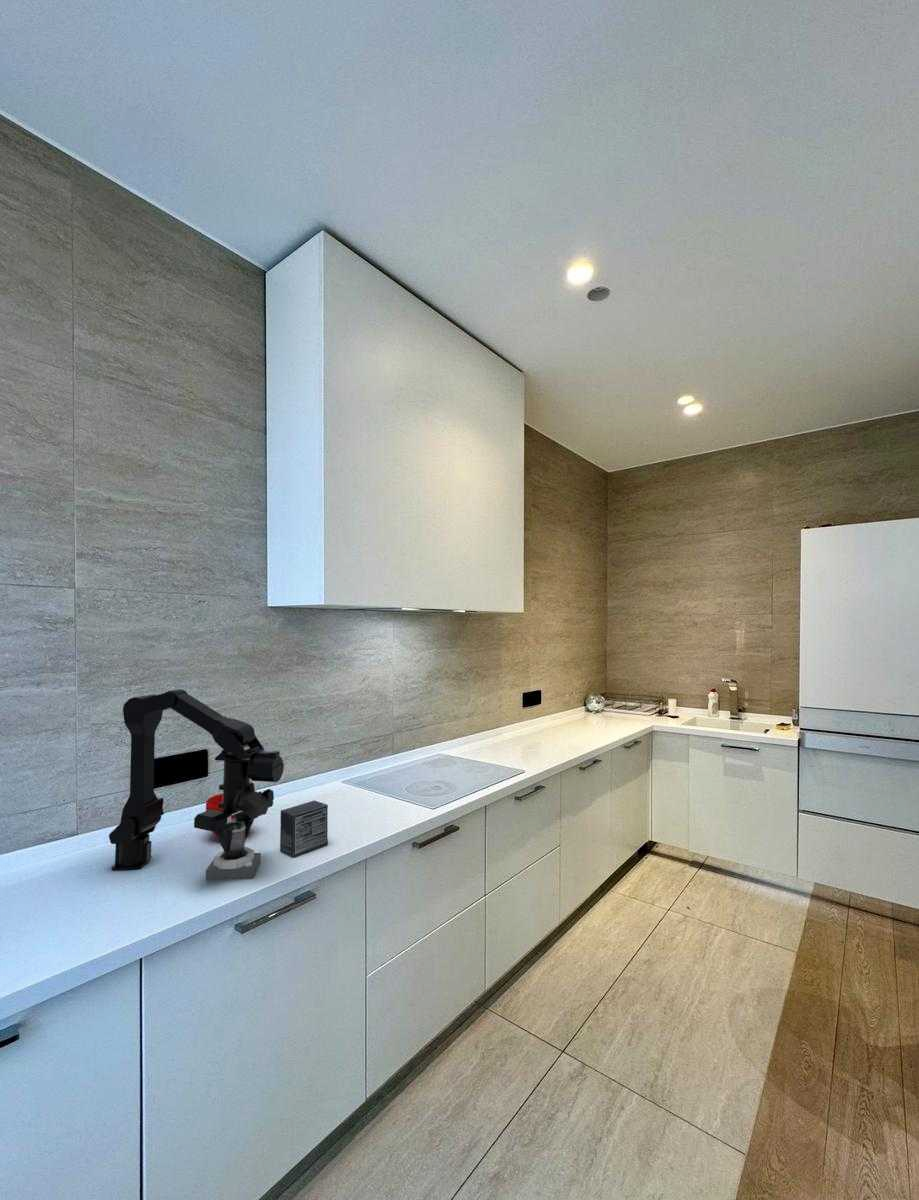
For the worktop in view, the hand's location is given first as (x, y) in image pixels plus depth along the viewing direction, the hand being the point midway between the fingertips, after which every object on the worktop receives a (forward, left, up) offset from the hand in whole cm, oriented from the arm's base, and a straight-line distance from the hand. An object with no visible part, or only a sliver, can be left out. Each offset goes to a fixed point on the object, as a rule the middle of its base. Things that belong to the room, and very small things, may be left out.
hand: (234, 847), depth 125 cm
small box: (+14, +12, -6) cm, 19 cm away
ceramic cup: (-6, +24, -6) cm, 25 cm away
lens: (0, 0, -2) cm, 2 cm away
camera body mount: (0, 0, -6) cm, 6 cm away
